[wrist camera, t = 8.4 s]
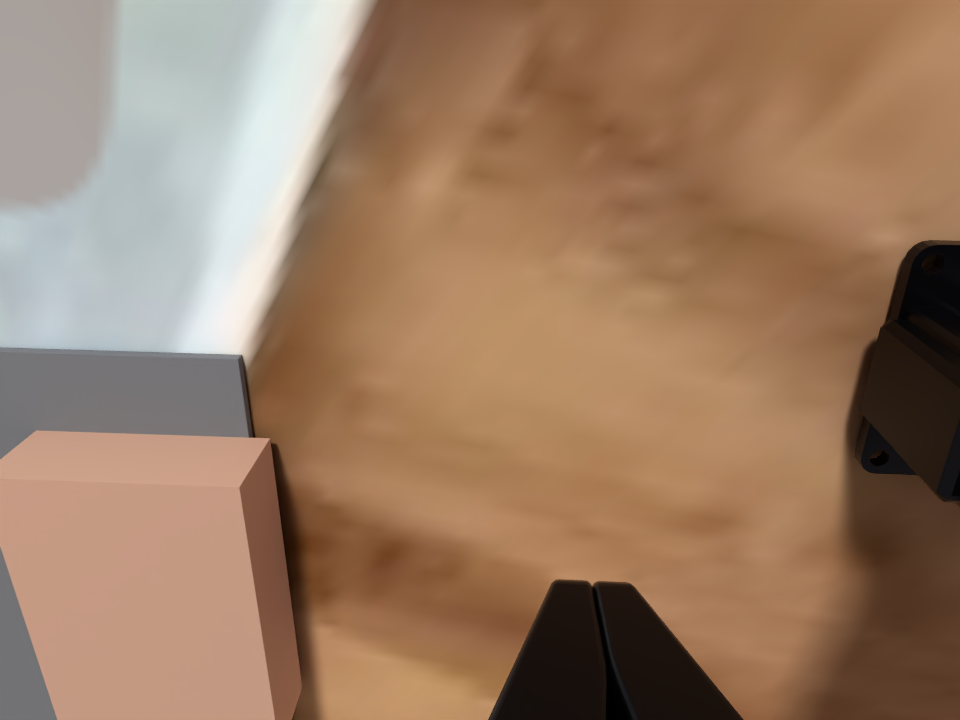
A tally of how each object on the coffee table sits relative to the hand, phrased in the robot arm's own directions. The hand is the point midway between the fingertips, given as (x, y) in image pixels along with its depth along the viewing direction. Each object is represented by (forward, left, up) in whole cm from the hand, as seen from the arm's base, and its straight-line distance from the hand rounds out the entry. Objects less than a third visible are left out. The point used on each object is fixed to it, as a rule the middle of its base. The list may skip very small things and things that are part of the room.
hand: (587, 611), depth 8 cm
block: (+8, +10, -10) cm, 16 cm away
